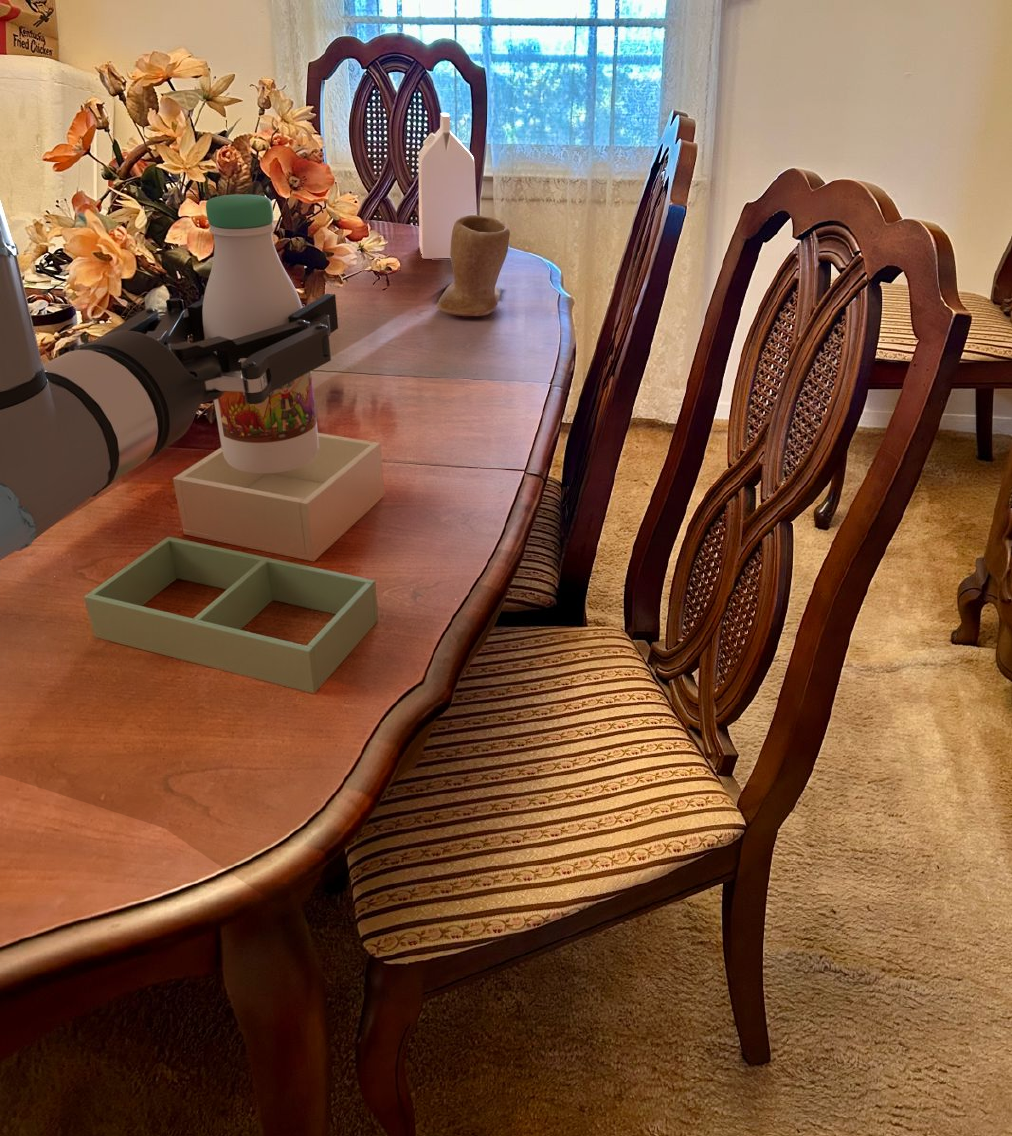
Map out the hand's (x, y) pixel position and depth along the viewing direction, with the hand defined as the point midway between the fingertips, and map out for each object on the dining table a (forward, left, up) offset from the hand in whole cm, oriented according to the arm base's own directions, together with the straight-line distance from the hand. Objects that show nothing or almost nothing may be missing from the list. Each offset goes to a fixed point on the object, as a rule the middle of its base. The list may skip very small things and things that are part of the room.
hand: (284, 306), depth 75 cm
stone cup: (-17, +83, -24) cm, 88 cm away
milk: (-38, +120, -24) cm, 128 cm away
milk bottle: (0, -5, -11) cm, 12 cm away
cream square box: (-7, +7, -24) cm, 26 cm away
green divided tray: (0, -12, -24) cm, 27 cm away
